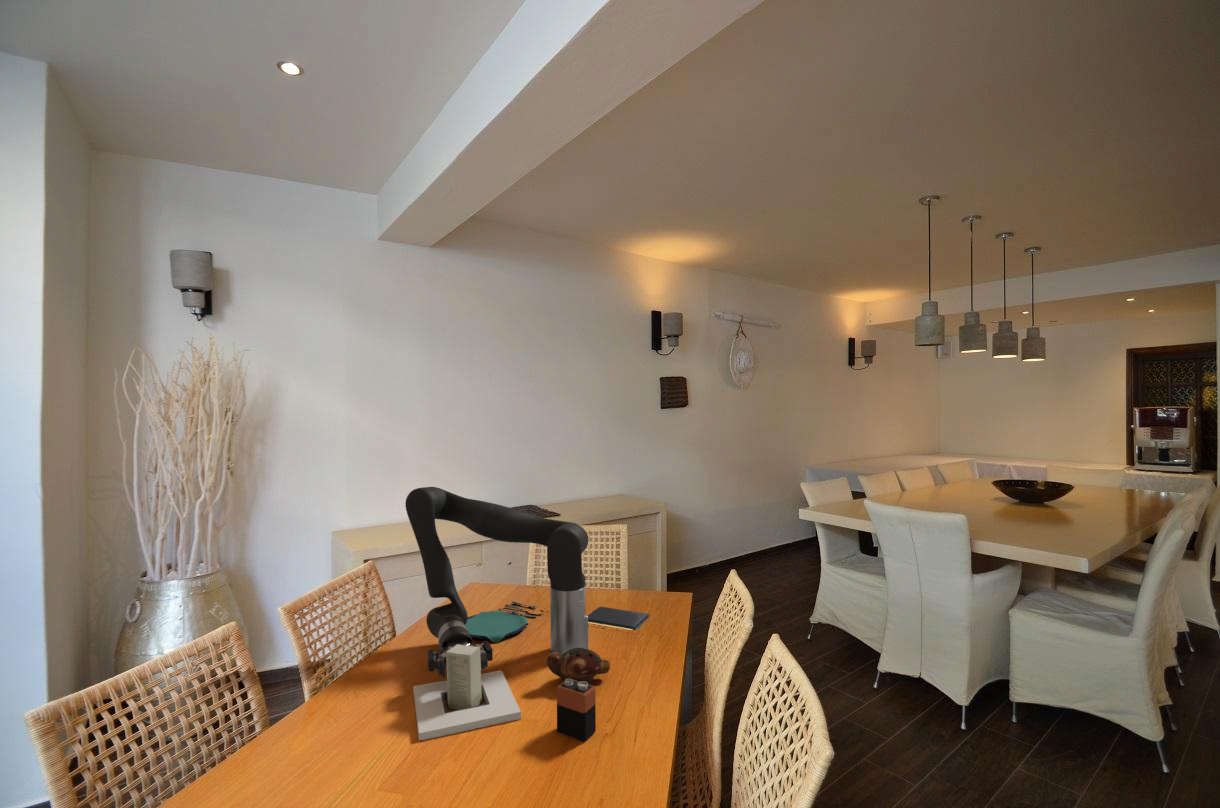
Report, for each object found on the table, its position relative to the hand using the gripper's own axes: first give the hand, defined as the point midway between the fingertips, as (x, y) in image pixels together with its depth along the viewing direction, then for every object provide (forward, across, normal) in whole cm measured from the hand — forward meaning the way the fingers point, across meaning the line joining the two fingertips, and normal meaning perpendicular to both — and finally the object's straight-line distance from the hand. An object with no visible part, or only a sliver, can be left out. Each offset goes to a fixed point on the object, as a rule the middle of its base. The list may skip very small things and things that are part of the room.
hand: (464, 669), depth 123 cm
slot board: (+1, 0, +7) cm, 7 cm away
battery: (+20, +19, +8) cm, 29 cm away
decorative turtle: (+1, +26, +8) cm, 27 cm away
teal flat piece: (-42, +18, +8) cm, 47 cm away
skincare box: (+1, 0, +8) cm, 8 cm away
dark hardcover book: (-31, +49, +8) cm, 59 cm away
